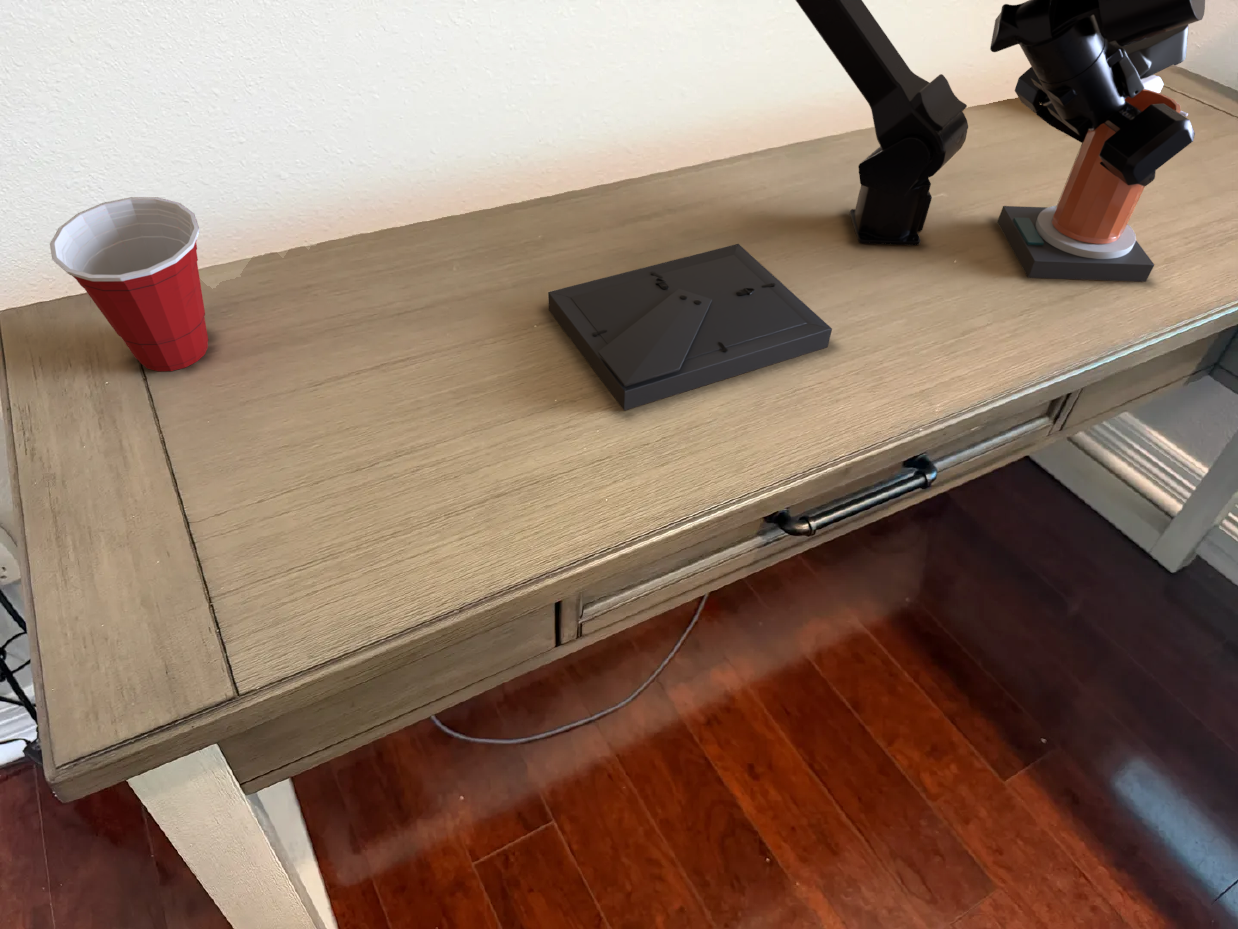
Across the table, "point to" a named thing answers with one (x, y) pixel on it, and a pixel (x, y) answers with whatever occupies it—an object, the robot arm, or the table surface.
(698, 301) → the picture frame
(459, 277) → the table surface
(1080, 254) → the scale
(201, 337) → the plastic cup
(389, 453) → the table surface
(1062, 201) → the tumbler
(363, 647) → the table surface
